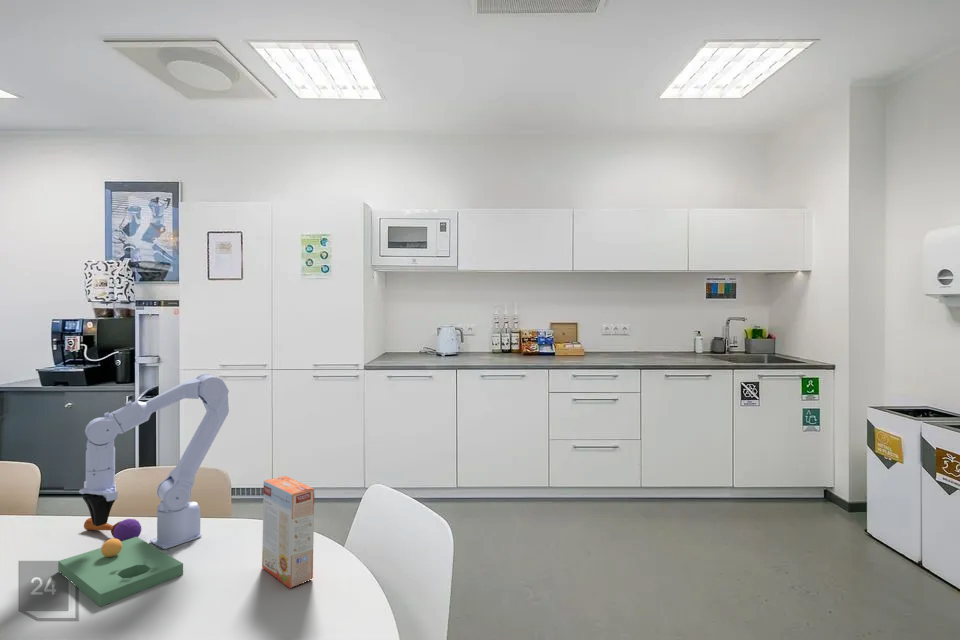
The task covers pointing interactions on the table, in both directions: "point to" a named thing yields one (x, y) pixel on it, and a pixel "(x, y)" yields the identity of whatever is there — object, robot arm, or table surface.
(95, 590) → the putting mat
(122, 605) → the table surface
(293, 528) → the cracker box
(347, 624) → the table surface
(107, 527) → the kendama
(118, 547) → the ball
